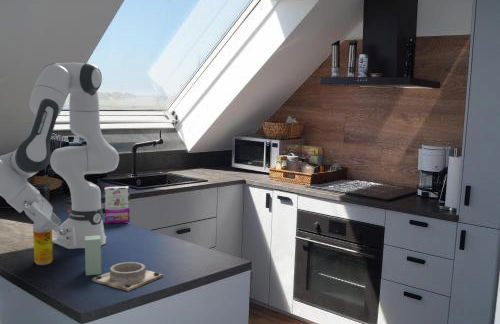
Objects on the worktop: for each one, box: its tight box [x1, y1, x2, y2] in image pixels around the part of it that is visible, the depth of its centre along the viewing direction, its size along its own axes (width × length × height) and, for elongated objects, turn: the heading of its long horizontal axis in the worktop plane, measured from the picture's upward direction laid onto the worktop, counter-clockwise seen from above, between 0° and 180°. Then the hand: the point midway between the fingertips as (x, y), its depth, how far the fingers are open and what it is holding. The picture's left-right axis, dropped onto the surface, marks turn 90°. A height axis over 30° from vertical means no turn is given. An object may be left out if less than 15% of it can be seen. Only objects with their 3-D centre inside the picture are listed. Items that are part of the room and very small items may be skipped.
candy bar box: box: [103, 185, 131, 224], centre depth 250 cm, size 11×5×16 cm, turn 104°
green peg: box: [84, 235, 103, 276], centre depth 182 cm, size 5×5×12 cm
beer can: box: [32, 221, 54, 266], centre depth 191 cm, size 6×6×15 cm
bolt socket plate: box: [91, 261, 164, 292], centre depth 177 cm, size 16×16×4 cm
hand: (59, 227), depth 177 cm, fingers open, 8 cm apart
